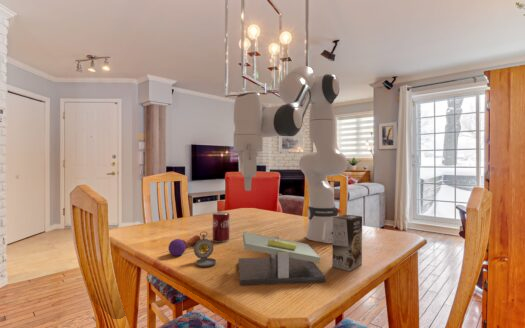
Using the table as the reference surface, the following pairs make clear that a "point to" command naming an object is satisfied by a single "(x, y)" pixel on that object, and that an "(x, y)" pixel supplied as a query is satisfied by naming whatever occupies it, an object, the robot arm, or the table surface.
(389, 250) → the table surface
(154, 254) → the table surface
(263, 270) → the levelling stand
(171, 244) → the kendama
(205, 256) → the pocket watch
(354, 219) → the coffee box
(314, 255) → the tilting platform
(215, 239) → the soda can
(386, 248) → the table surface
